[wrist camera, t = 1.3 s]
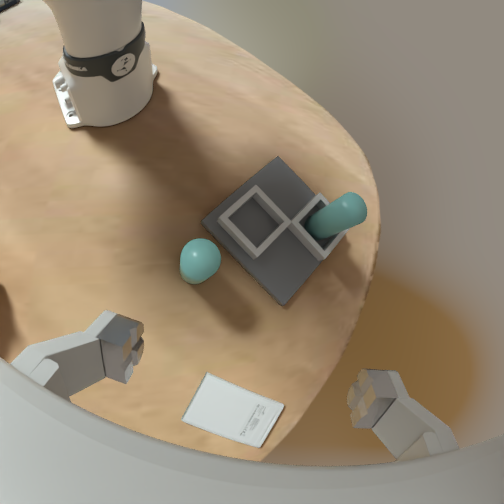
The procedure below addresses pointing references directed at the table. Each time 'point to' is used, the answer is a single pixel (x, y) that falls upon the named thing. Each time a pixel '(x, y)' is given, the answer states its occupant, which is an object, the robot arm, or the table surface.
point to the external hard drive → (232, 411)
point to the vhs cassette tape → (7, 3)
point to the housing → (282, 227)
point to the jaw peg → (199, 260)
